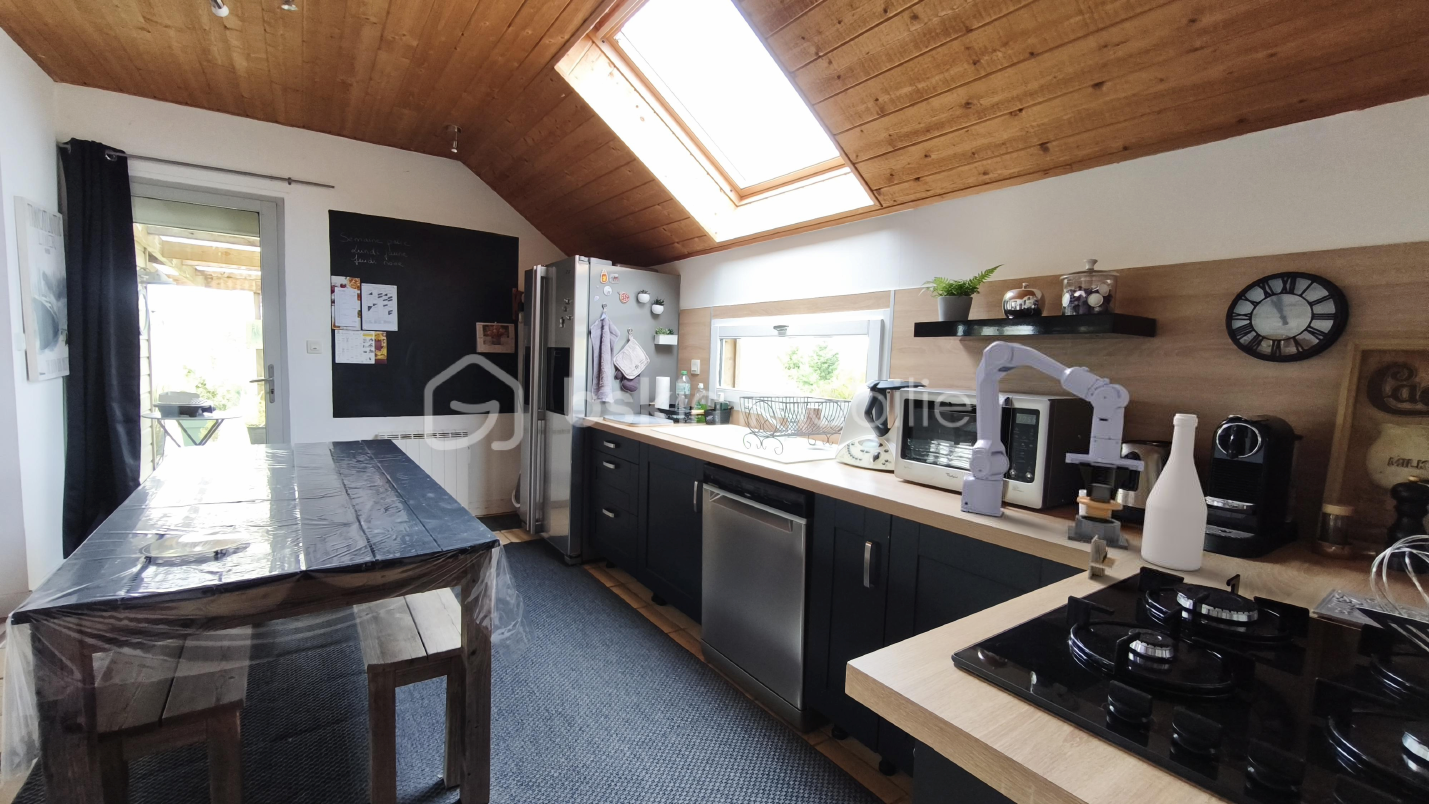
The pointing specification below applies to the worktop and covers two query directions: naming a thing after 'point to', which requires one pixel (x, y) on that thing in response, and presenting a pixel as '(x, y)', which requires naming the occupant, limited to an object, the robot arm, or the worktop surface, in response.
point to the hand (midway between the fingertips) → (1100, 497)
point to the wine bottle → (1176, 506)
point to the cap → (1099, 501)
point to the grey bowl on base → (1097, 531)
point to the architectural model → (1099, 558)
